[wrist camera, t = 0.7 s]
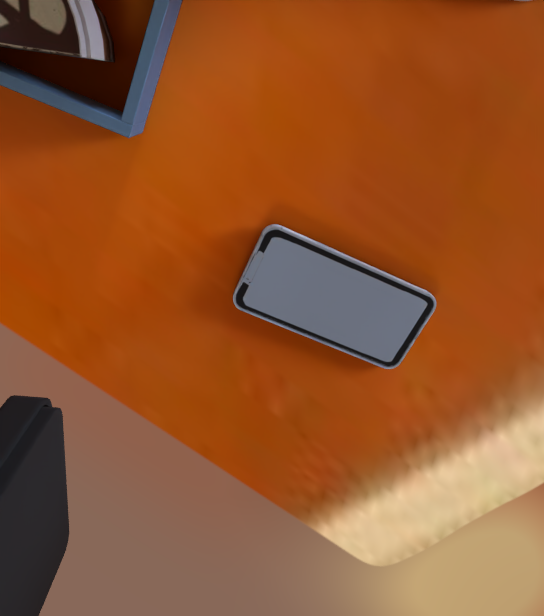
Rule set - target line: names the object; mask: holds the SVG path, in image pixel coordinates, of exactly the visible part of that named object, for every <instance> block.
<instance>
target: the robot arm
mask: <svg viewBox="0 0 544 616" xmlns="http://www.w3.org/2000/svg"><path fill="white" fill-rule="evenodd" d="M516 1H531V0H516ZM63 434H64V433H63V416H62V411H61V409H60V408H56V407H55V408H54V407H52V404H51V401H50V399H48V398H41V397H28V396H15V395H14V396H11V397H9V398H8V399H7V400H6V402H5V403H4V404H3V405H2V407H1V408H0V616H39V613H40V611H41V608H42V606H43V604H44V601H45V599H46V596H47V594H48V592H49V589H50V587H51V585H52V582H53V580H54V577H55V575H56V573H57V570H58V568H59V565H60V563H61V561H62V558H63V556H64V553H65V551H66V547H67V543H68V537H69V519H68V502H67V485H66V468H65V451H64V435H63Z"/></svg>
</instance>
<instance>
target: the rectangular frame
mask: <svg viewBox="0 0 544 616" xmlns="http://www.w3.org/2000/svg"><path fill="white" fill-rule="evenodd" d="M181 3H182V0H155V1H154V4H153V8H152V11H151V15H150V18H149V22H148V26H147V29H146V33H145V36H144V40H143V43H142V47H141V50H140V54H139V57H138V61H137V64H136V68H135V71H134V75H133V78H132V82H131V85H130V89H129V92H128V96H127V100H126V103H125V107H124V110H123V112H121V111H119V110H117V109H114V108H112V107H109V106H107V105H105V104H102V103H100V102H98V101H95V100H93V99H90V98H88V97H86V96H83V95H81V94H78V93H76V92H74V91H71V90H69V89H67V88H64V87H62V86H59V85H57V84H55V83H52V82H50V81H47V80H45V79H43V78H40V77H38V76H36V75H33V74H31V73H28V72H26V71H24V70H21V69H19V68H16V67H14V66H12V65H9V64H7V63H5V62H2V61H0V85H2V86H4V87H6V88H9V89H11V90H14V91H16V92H19V93H21V94H23V95H26V96H28V97H31V98H33V99H36V100H38V101H40V102H43V103H45V104H48V105H50V106H53V107H55V108H57V109H60V110H62V111H65V112H67V113H70V114H72V115H74V116H77V117H79V118H82V119H84V120H87V121H89V122H91V123H94V124H96V125H99V126H101V127H104V128H106V129H108V130H111V131H113V132H116V133H118V134H121V135H123V136H125V137H128V138H130V137H132V136H135V135H137V134H140V133H142V132H143V129H144V126H145V121H146V119H147V116H148V112H149V109H150V106H151V102H152V99H153V96H154V93H155V89H156V86H157V83H158V79H159V76H160V73H161V69H162V66H163V63H164V59H165V56H166V53H167V49H168V46H169V43H170V39H171V36H172V33H173V30H174V26H175V23H176V20H177V16H178V13H179V10H180V6H181Z"/></svg>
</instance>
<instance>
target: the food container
mask: <svg viewBox="0 0 544 616" xmlns="http://www.w3.org/2000/svg"><path fill="white" fill-rule="evenodd" d="M0 47H5V48H12V49H19V50H27V51H34V52H41V53H49V54H56V55H63V56H71V57H78V58H85V59H93V60H100V61H108V62H115V57H114V44H113V40H112V37H111V34H110V31H109V28H108V25H107V22H106V19H105V16H104V15H103V13H102V12H101V10H100V9H99V7H98V6H97V4H96V3H95V1H94V0H0Z"/></svg>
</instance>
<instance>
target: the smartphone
mask: <svg viewBox="0 0 544 616" xmlns="http://www.w3.org/2000/svg"><path fill="white" fill-rule="evenodd" d="M233 302H234V305H235V306H236V307H237V308H238V309H239V310H241V311H244V312H246V313H249V314H251V315H254V316H256V317H259V318H261V319H263V320H266V321H268V322H271V323H273V324H276V325H278V326H281V327H283V328H286V329H288V330H291V331H293V332H296V333H298V334H301V335H303V336H306V337H308V338H310V339H313V340H315V341H318V342H320V343H323V344H325V345H328V346H330V347H333V348H335V349H338V350H340V351H343V352H345V353H348V354H350V355H352V356H355V357H357V358H360V359H362V360H365V361H367V362H370V363H372V364H375V365H377V366H380V367H382V368H385V369H392V368H395V367H397V366H398V365H399V364H400V363H401V362H402V360H403V359H404V357H405V355H406V354H407V352H408V351H409V349H410V348H411V346H412V345H413V343H414V341H415V340H416V338H417V337H418V335H419V334H420V332H421V330H422V329H423V327H424V326H425V324H426V323H427V321H428V320H429V318H430V316H431V315H432V313H433V312H434V310H435V308H436V300H435V298H434V297H433V295H432V294H431V293H430V292H428V291H426V290H424V289H422V288H419V287H417V286H415V285H413V284H410V283H408V282H406V281H404V280H402V279H399V278H397V277H395V276H393V275H390V274H388V273H386V272H384V271H381V270H379V269H377V268H375V267H373V266H370V265H368V264H366V263H364V262H361V261H359V260H357V259H355V258H352V257H350V256H348V255H346V254H344V253H341V252H339V251H337V250H335V249H333V248H330V247H328V246H326V245H324V244H321V243H319V242H317V241H314V240H312V239H310V238H308V237H306V236H303V235H301V234H299V233H297V232H294V231H292V230H290V229H288V228H285V227H283V226H281V225H278V224H272V225H269V226H267V227H266V228H265V229H264V230H263V231H262V233H261V235H260V237H259V239H258V241H257V244H256V246H255V248H254V250H253V252H252V254H251V256H250V259H249V261H248V263H247V265H246V267H245V269H244V271H243V273H242V276H241V278H240V280H239V282H238V284H237V286H236V288H235V290H234V293H233Z"/></svg>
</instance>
